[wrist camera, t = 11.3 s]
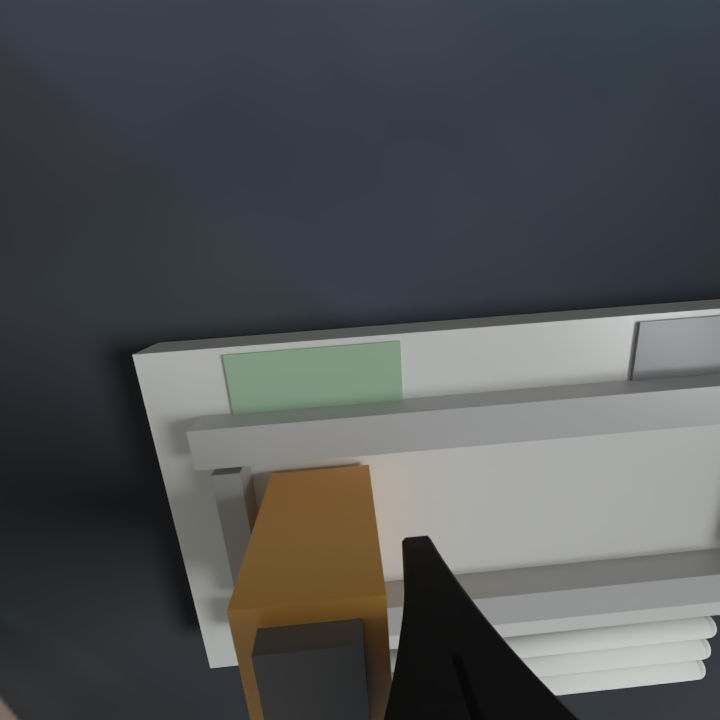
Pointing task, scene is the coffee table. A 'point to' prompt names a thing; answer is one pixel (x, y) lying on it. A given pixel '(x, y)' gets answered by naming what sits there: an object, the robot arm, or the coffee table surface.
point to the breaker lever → (313, 601)
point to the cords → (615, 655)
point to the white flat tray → (466, 456)
